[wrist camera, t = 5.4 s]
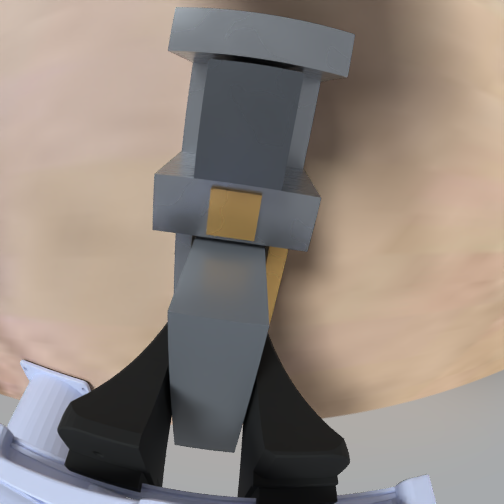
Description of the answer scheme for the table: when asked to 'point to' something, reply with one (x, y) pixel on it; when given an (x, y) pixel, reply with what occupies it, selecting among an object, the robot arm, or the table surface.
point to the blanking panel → (216, 341)
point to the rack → (247, 132)
